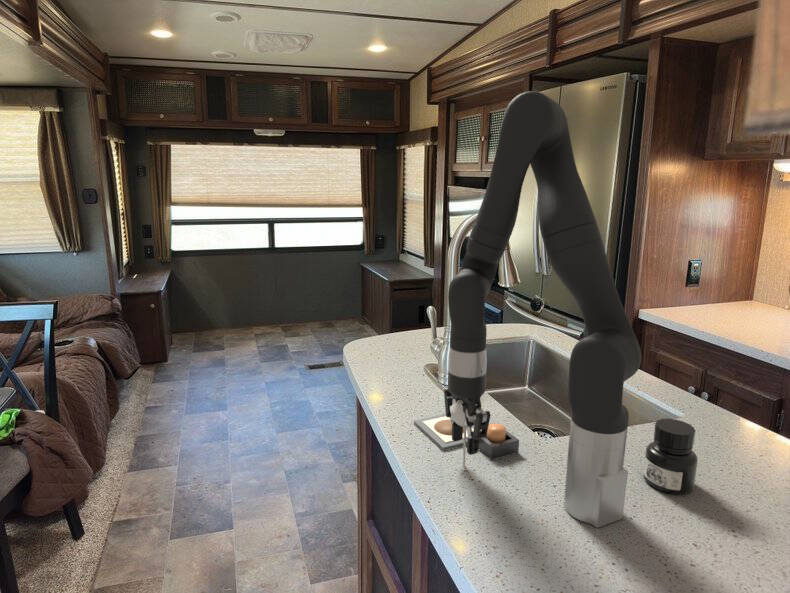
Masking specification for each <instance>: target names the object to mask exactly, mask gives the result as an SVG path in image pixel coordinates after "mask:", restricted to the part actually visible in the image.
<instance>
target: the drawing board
mask: <svg viewBox="0 0 790 593" xmlns="http://www.w3.org/2000/svg"><path fill="white" fill-rule="evenodd" d="M413 424H414V426H416V427H417V428H418V429H419V430H420V431H421V432H422V433H423V434H424V435H425V436H426V437H427V438H429V439H430V440H431V442H433V443H434V444H435V446H437V447H438V449H440V450H441V451H442V452H444V451H445V452H446V451H447V450H448V451H449V450H452V449H456V448H460V447H463V445H464V427H463V437H462V440H459V441H453V440H452V424H451V422H450V417H447V416H446V413H444V414H443V413H442V414H439V415H434V416H430V417H424V418H420V419H417V420H413ZM472 431H474V425H473V426H472ZM481 431H482V430H481ZM467 437H468V434H467V428H466V446H467Z"/></svg>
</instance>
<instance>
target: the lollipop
mask: <svg viewBox="0 0 790 593" xmlns="http://www.w3.org/2000/svg"><path fill="white" fill-rule="evenodd" d="M460 404H463V401H461V400H458V401H457V402H456V403H454V404H453V405H452V406H450V412H451V415H452V418H453V420H454V421H455V423H456V424H458V425H459V426H462V427H464V445H463V446H462V448H463V449H462V450H463V451H462V452H463V453H462V467H465V466H466V454H467V445H466V426H464V422H465V414H464V412H462V409H461V407H460V406H459V405H460ZM466 416H467V418H468V421H469V422H473V421H475V417H476V415H473V416H472V417H470V416H469V415H468V411H467V409H466Z"/></svg>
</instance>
